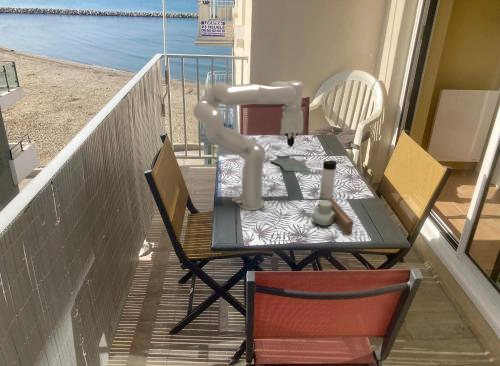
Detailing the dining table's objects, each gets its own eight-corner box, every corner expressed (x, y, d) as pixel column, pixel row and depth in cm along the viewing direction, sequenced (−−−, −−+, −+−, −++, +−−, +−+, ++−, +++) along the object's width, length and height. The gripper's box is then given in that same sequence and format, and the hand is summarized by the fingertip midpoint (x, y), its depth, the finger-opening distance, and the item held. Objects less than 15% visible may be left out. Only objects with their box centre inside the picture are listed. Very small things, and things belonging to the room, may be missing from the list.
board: (345, 234, 179) (346, 222, 177) (325, 210, 199) (326, 198, 196) (351, 233, 180) (353, 221, 178) (331, 209, 199) (332, 198, 197)
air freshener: (320, 214, 195) (322, 195, 190) (336, 220, 190) (338, 201, 186) (309, 224, 186) (311, 204, 182) (325, 230, 182) (328, 210, 178)
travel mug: (323, 201, 207) (327, 164, 198) (317, 195, 212) (321, 159, 204) (334, 200, 208) (339, 163, 200) (328, 194, 214) (333, 158, 205)
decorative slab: (313, 160, 256) (314, 157, 255) (314, 176, 235) (315, 173, 234) (271, 158, 259) (271, 155, 258) (268, 173, 237) (269, 170, 236)
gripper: (280, 111, 187) (277, 149, 195) (311, 109, 190) (307, 147, 198) (275, 106, 194) (273, 143, 201) (305, 105, 197) (302, 142, 205)
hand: (290, 145), depth 200 cm, fingers closed
